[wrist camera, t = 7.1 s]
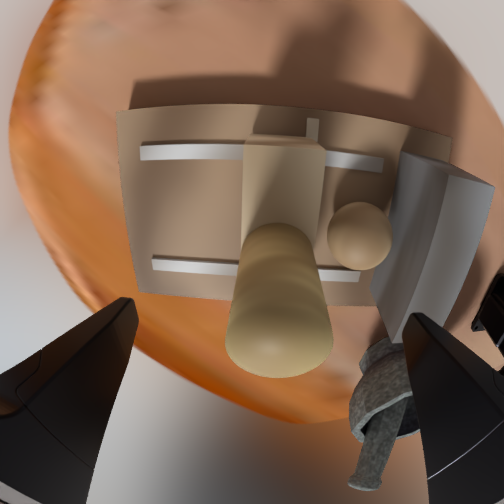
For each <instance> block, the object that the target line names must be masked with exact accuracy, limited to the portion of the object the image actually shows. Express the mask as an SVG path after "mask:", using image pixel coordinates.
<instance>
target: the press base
mask: <svg viewBox="0 0 504 504" xmlns="http://www.w3.org/2000/svg"><path fill="white" fill-rule="evenodd" d="M116 122H117V142H118V156H119V168H120V178H121V188H122V196H123V204H124V211H125V218H126V225H127V231H128V238H129V243H130V249H131V255H132V260H133V265H134V270H135V275H136V280H137V284H138V289H139V292H144V293H153V294H163V295H173V296H183V297H194V298H206V299H218V300H232V298H233V293H234V287H235V282H236V276H237V270H238V265H239V259H240V254H241V224H242V183H243V148H244V143H245V141H246V140H247V138H248V137H249V135H250V134H268V135H284V136H297V137H308V138H312V139H313V140H315V141H316V142H317V143H318V144H319V145H321V146H322V147H323V148H324V149H325V150H327V152H326V161H325V171H324V179H323V188H322V196H321V204H320V211H319V219H318V226H317V233H316V240H315V246H314V256H315V260H316V264H317V268H318V272H319V276H320V280H321V284H322V288H323V293H324V297H325V301H326V305H333V306H377V308H378V310H379V312H380V315H381V317H382V320H383V322H384V325H385V327H386V330H387V332H388V335H389V337H390V340H391V342H392V343H403V341H402V331H403V328H404V326H405V324H406V322H407V320H408V317H409V315H410V314H411V313H413V312H422V313H424V314H425V315H426V316H428V317H429V318H430V319H432V320H433V321H434V322H436V323H437V324H438V325H440V326H441V327H443V325H444V323H445V321H446V319H447V317H448V315H449V313H450V311H451V309H452V307H453V305H454V303H455V301H456V299H457V297H458V294H459V292H460V290H461V288H462V285H463V283H464V281H465V278H466V276H467V274H468V271H469V269H470V266H471V264H472V261H473V258H474V256H475V253H476V250H477V247H478V245H479V242H480V239H481V236H482V233H483V230H484V226H485V223H486V220H487V216H488V213H489V209H490V206H491V202H492V198H493V194H494V190H495V187H494V186H492V185H490V184H489V183H487V182H485V181H483V180H481V179H479V178H478V177H476V176H474V175H472V174H470V173H468V172H466V171H464V170H462V169H460V168H458V167H456V166H454V165H452V164H450V163H449V157H450V151H451V145H452V138H451V137H448V136H445V135H442V134H438V133H435V132H431V131H428V130H424V129H420V128H416V127H412V126H408V125H404V124H400V123H396V122H391V121H386V120H382V119H377V118H371V117H366V116H360V115H354V114H348V113H342V112H335V111H327V110H319V109H310V108H300V107H289V106H275V105H255V104H196V105H176V106H162V107H151V108H141V109H133V110H125V111H117V112H116ZM353 202H366V203H370V204H372V205H374V206H376V207H378V208H379V209H380V210H382V211H383V212H384V214H385V215H386V216H387V218H388V219H389V221H390V224H391V226H392V231H393V242H392V246H391V249H390V251H389V253H388V255H387V257H386V258H385V259H384V260H383V261H382V262H381V263H380V264H379V265H377V266H375V267H373V268H371V269H367V270H353V269H350V268H347V267H345V266H343V265H342V264H341V263H339V262H338V261H337V260H336V259H335V258H334V256H333V255H332V253H331V251H330V249H329V246H328V242H327V229H328V225H329V222H330V220H331V218H332V217H333V215H334V214H335V213H336V212H337V211H338V210H339V209H340V208H341V207H343V206H345V205H347V204H349V203H353Z"/></svg>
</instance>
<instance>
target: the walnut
mask: <svg viewBox="0 0 504 504" xmlns="http://www.w3.org/2000/svg"><path fill="white" fill-rule="evenodd" d="M327 242H328V246H329V249H330V251H331V253H332V255H333V256H334V258H335V259H336V260H337V261H338V262H339V263H341V264H342V265H343V266H345V267H347V268H350V269H353V270H367V269H371V268H373V267H375V266H377V265H379V264H380V263H381V262H382V261H383V260H384V259H385V258H386V257H387V255H388V253H389V251H390V249H391V246H392V242H393V231H392V226H391V224H390V221H389V219H388V218H387V216H386V215H385V214H384V212H383V211H382V210H380V209H379V208H378V207H376V206H374V205H372V204H370V203H366V202H353V203H349V204H347V205H345V206H343V207H341V208H340V209H339V210H338V211H337V212H336V213H335V214H334V215H333V217H332V218H331V220H330V222H329V225H328V229H327Z"/></svg>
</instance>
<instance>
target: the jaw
mask: <svg viewBox="0 0 504 504" xmlns="http://www.w3.org/2000/svg"><path fill="white" fill-rule="evenodd" d="M326 152H327V150H325V149H324V148H323V147H322V146H321V145H319V144H318V143H317V142H316V141H315V140H313V139H312V138H308V137H297V136H284V135H268V134H250V135H249V137H248V138H247V140H246V141H245V143H244V148H243V183H242V224H241V254H240V259H239V265H238V270H237V276H236V282H235V287H234V293H233V298H232V304H231V309H230V315H229V321H228V326H227V332H226V338H225V346H226V350H227V353H228V355H229V357H230V358H231V359H232V361H233V362H234V363H235V364H237V365H238V366H239V367H240V368H242V369H244V370H245V371H248V372H250V373H252V374H255V375H259V376H263V377H270V378H285V377H292V376H297V375H300V374H303V373H306V372H308V371H310V370H312V369H314V368H316V367H317V366H318V365H320V364H321V363H322V362H323V361H324V360H325V359H326V358H327V357H328V355H329V354H330V352H331V349H332V347H333V333H332V328H331V323H330V319H329V314H328V310H327V306H326V301H325V297H324V293H323V288H322V284H321V280H320V276H319V272H318V268H317V264H316V260H315V256H314V246H315V240H316V233H317V226H318V219H319V211H320V204H321V196H322V188H323V179H324V171H325V161H326Z"/></svg>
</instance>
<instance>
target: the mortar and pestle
mask: <svg viewBox="0 0 504 504" xmlns="http://www.w3.org/2000/svg"><path fill="white" fill-rule="evenodd" d="M359 366H360V369H361V371H362V373H363V376H362V378H361V380H360V381H359V383H358V384H357V386H356V387H355V390H354V392H353V395H352V397H351V400H350V402H349V421H350V427H351V432H352V433H353V435H354V436H355V437H356V438H357V439H358V441H359V442H363V446H362V449H361V453H360V456H359V460H358V463H357V466H356V470H355V473H354V474H353V475H352V476H351V477H350V478H349V480H348V484H349V486H351V487H353V488H355V489H359V490H364V491H372V490H377V489H379V487H380V485H381V483H382V481H381V478H380V477H381V475H382V472H383V470H384V468H385V465H386V463H387V461H388V458H389V456H390V453H391V450H392V448H393V445H394V442H395V440H396V439H400V438H404V437H407V436H410V435H413V434H415V433H417V432H419V431H420V427H419V422H418V417H417V412H416V407H415V403H414V398H413V394H412V390H411V385H410V381H409V377H408V371H407V365H406V359H405V352H404V346H403V343H392V342H391V340H390V337H387V338H383V339H382V340H381V341H379V342H378V343H376V344H375V345H373V346H372V347H370V348H369V349H367V350H366V352H365V354H364V355H363V357H362V359H361V361H360V363H359Z"/></svg>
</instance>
